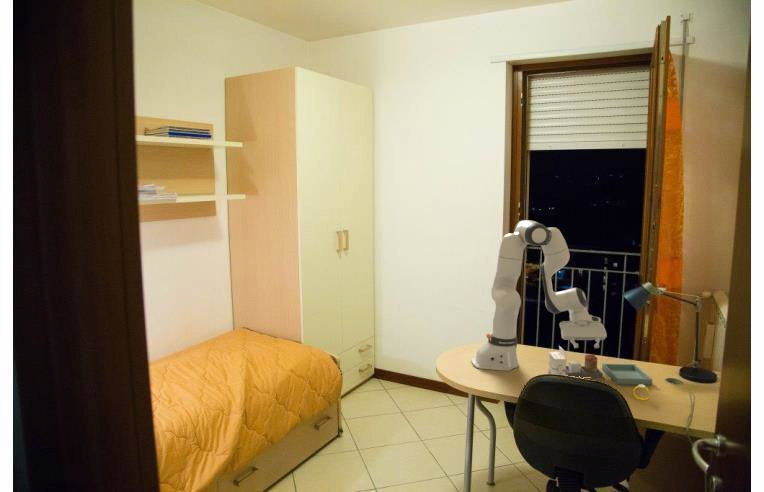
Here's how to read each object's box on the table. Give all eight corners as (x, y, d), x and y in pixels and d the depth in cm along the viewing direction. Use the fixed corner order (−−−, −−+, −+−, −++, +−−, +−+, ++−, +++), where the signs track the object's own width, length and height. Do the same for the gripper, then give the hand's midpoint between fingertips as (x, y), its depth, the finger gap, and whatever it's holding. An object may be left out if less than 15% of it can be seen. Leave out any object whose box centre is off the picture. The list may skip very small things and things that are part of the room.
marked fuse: (587, 376, 215) (588, 358, 213) (584, 373, 219) (585, 354, 217) (596, 376, 214) (597, 358, 213) (593, 373, 218) (594, 354, 217)
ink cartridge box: (547, 375, 216) (548, 345, 214) (558, 375, 216) (559, 345, 214) (553, 384, 208) (555, 352, 205) (565, 384, 207) (566, 352, 205)
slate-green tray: (617, 385, 206) (617, 378, 205) (602, 369, 222) (602, 363, 222) (651, 385, 205) (652, 379, 204) (634, 370, 221) (634, 364, 221)
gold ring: (632, 399, 193) (632, 385, 193) (633, 396, 196) (633, 383, 195) (649, 402, 190) (649, 388, 190) (650, 399, 192) (650, 385, 192)
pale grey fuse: (571, 376, 215) (571, 364, 214) (568, 372, 219) (568, 360, 218) (580, 376, 215) (580, 364, 214) (577, 373, 219) (577, 360, 218)
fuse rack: (568, 378, 213) (568, 373, 213) (562, 370, 221) (562, 365, 221) (602, 378, 212) (602, 373, 212) (595, 371, 220) (596, 366, 220)
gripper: (560, 318, 227) (565, 344, 219) (603, 318, 226) (611, 345, 218) (557, 324, 232) (562, 350, 224) (599, 324, 231) (606, 350, 223)
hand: (586, 347), depth 221 cm, fingers open, 8 cm apart
